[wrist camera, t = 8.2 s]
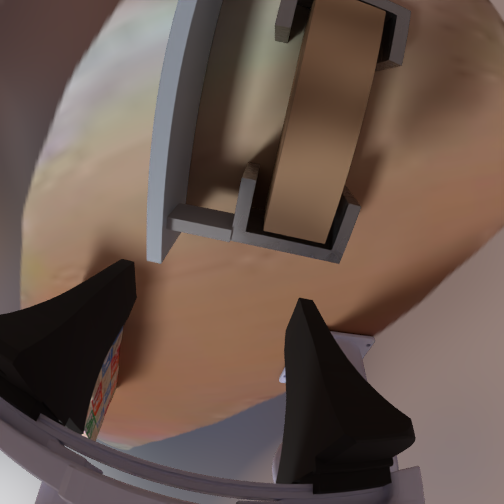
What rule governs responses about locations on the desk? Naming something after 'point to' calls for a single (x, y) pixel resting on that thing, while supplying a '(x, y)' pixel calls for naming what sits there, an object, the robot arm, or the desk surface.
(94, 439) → the stack of blocks
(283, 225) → the rail
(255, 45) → the desk surface
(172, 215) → the backboard
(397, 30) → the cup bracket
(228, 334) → the desk surface
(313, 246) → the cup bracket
